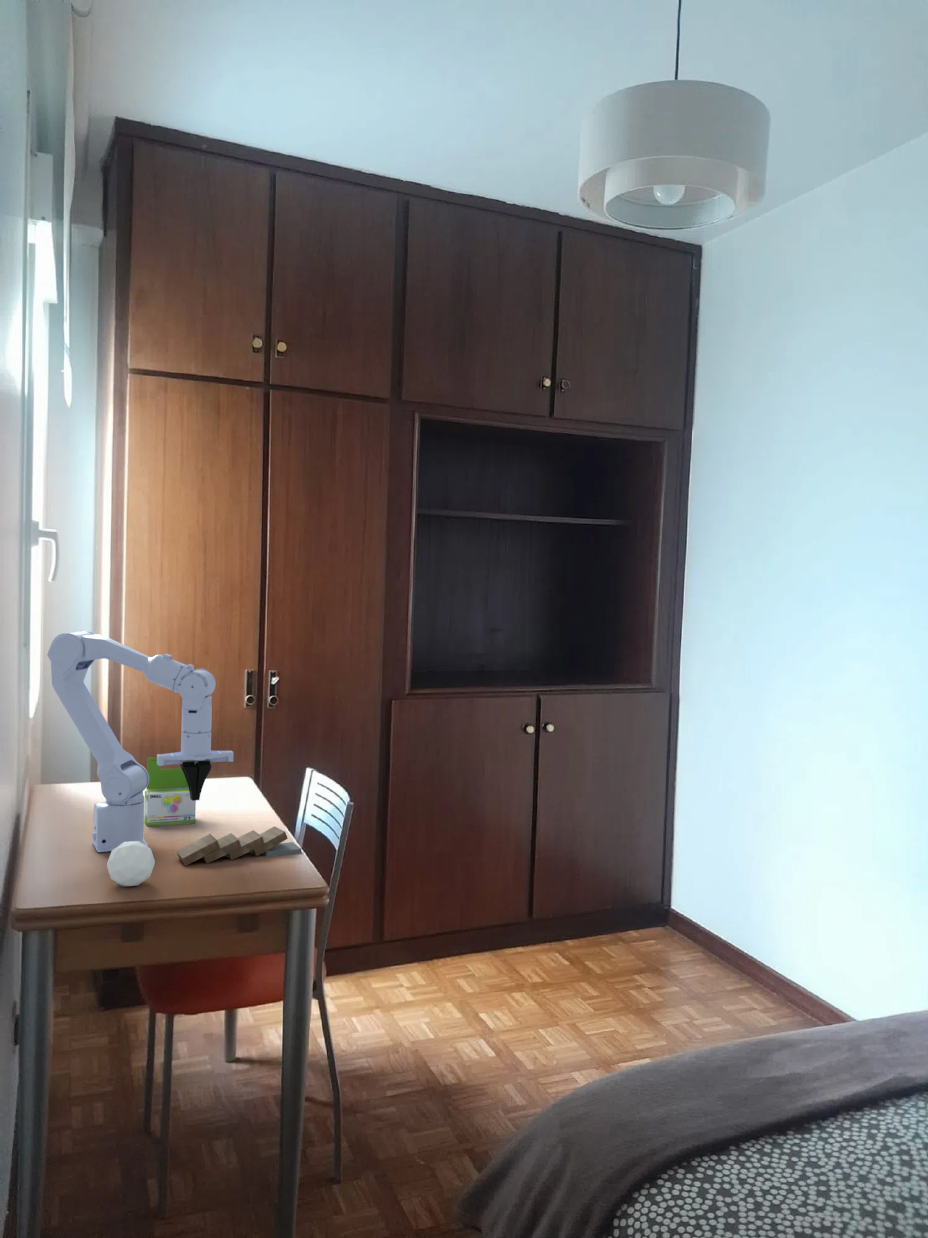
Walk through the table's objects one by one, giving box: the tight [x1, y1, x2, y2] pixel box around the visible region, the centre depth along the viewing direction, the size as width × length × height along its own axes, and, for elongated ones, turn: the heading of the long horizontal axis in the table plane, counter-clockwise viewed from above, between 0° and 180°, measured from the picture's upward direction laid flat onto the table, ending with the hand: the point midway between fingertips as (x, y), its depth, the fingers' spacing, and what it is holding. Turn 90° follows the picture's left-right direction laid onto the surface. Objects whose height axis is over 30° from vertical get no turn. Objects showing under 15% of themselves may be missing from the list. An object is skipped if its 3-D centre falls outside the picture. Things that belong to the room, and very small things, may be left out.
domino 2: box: [201, 832, 241, 864], centre depth 185 cm, size 2×5×7 cm
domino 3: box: [225, 830, 265, 861], centre depth 188 cm, size 2×5×7 cm
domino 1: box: [176, 833, 220, 867], centre depth 183 cm, size 2×5×7 cm
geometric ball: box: [106, 841, 156, 888], centre depth 168 cm, size 8×8×8 cm
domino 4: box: [248, 826, 288, 857], centre depth 191 cm, size 2×5×7 cm
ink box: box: [144, 756, 197, 827], centre depth 210 cm, size 10×5×14 cm, turn 114°
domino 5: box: [262, 841, 302, 858], centre depth 191 cm, size 2×5×7 cm
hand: (194, 799), depth 190 cm, fingers closed
